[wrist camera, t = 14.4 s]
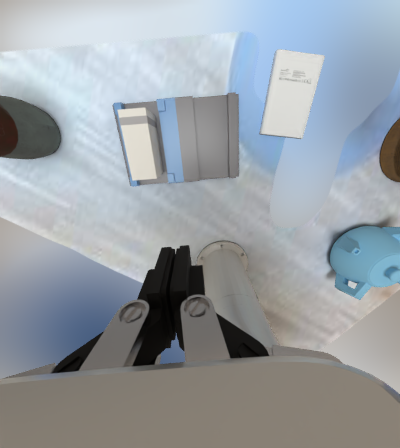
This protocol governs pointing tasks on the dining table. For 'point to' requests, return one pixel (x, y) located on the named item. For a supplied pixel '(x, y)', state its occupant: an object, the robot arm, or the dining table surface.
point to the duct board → (192, 137)
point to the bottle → (26, 130)
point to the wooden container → (391, 153)
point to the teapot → (366, 259)
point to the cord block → (141, 143)
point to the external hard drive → (290, 93)
